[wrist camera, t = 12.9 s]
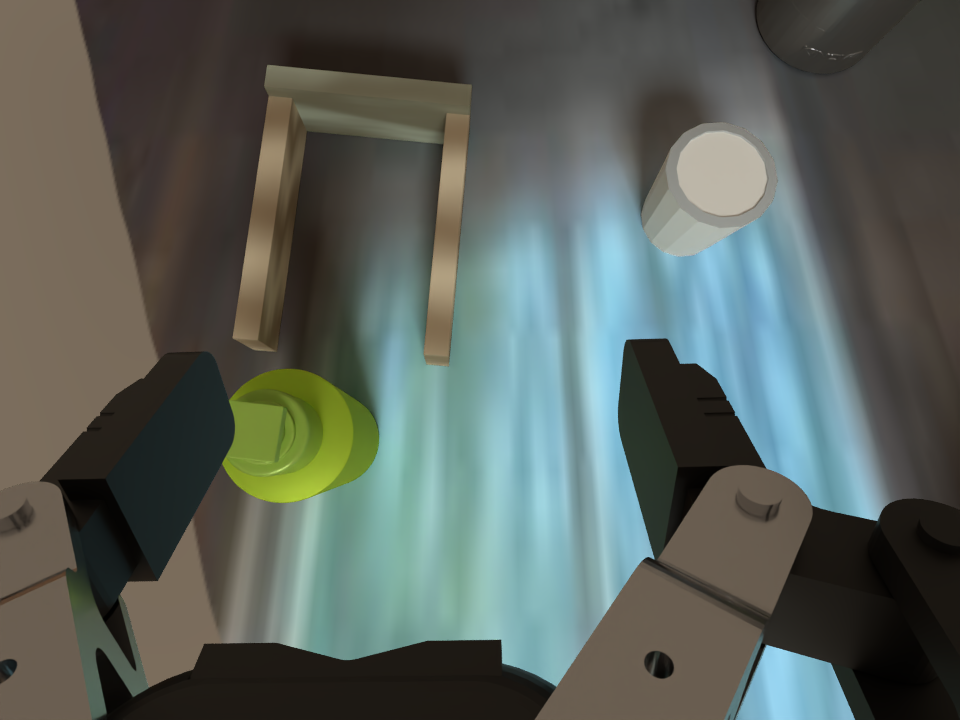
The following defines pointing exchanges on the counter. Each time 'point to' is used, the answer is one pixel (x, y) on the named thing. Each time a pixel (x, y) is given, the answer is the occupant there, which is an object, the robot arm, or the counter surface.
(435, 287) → the shelf
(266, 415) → the soap dispenser
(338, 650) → the counter surface
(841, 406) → the counter surface
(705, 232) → the shot glass
